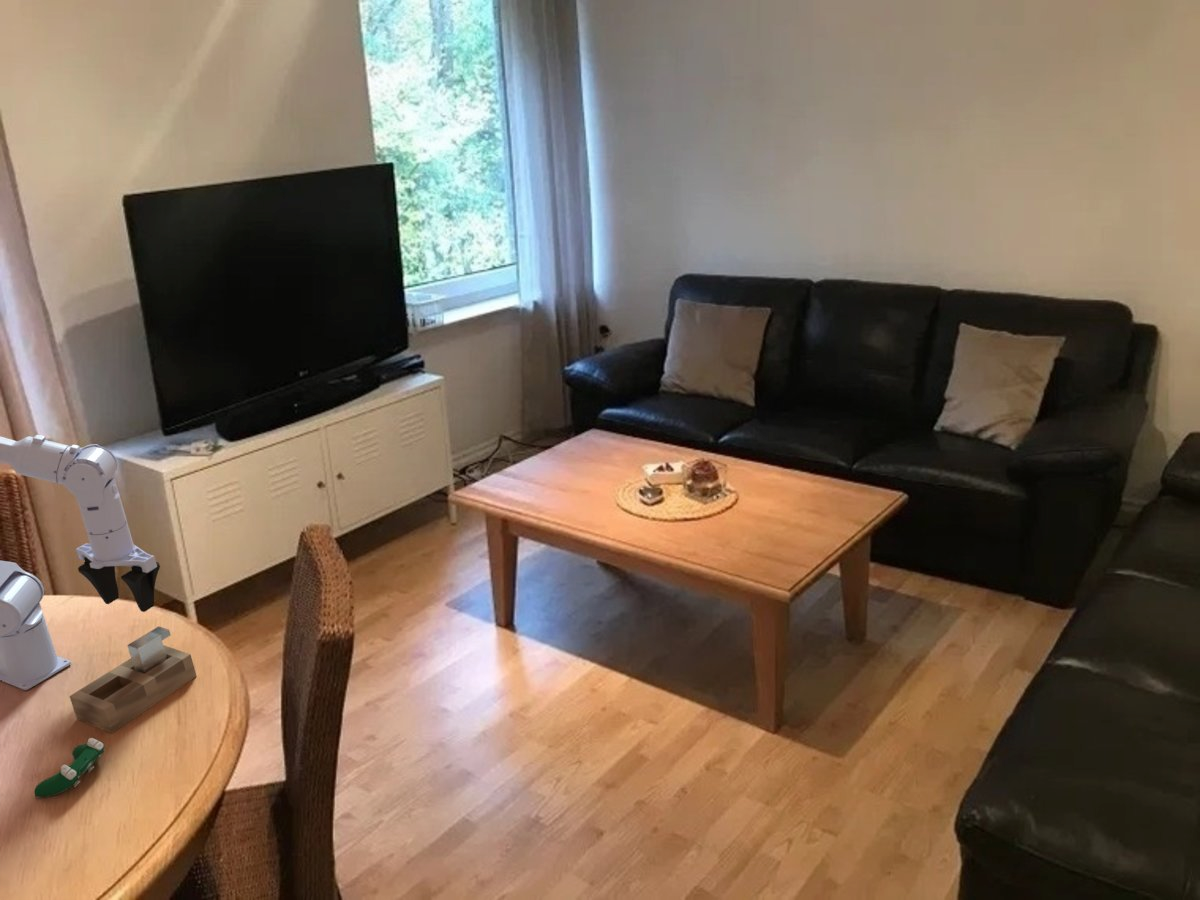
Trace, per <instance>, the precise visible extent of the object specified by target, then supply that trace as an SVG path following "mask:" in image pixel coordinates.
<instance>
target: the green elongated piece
mask: <svg viewBox="0 0 1200 900" xmlns="http://www.w3.org/2000/svg"><path fill="white" fill-rule="evenodd" d="M105 747H106V746H105V745H104V743H103V742H101V741H99V740H97V739H95V738H93V737H89V738H88V740H87V743H82V744H79V745H77V746H76V747H74V749H73V750H72V752H71V754H72V757H73V759H74V761H73V762H72V763H71V764H70V765H67V764H62V765H61V767H60V770H59V772H57V773H56V774H54V775H52V776H50V777H47V778H46V779H44V780H42V781H41V782H39V783H38V784H37V785H36V786H35V788H34V791H33V793H34V797H35V798H48V797H51V796H52V797H53V796H55V795H58V794H60V793H63V792H65V791H66V790H70V788H71V787H73V788H76V787H77V786H78V785H79V784H80V783H81V780H79V779H80V777H82V775H83V774H84V773H90V772H91V771H92V770H93V769H94V768H95V766H94V763H95V762H96V761H97V760H98V759H99V758H100V756H102V754H104V752H105V749H106V748H105Z"/></svg>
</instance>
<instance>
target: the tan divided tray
mask: <svg viewBox="0 0 1200 900" xmlns="http://www.w3.org/2000/svg"><path fill="white" fill-rule="evenodd" d="M163 646H164V650H165V653H166V657H167V660H165V661H164V662H162V663H161V664H159V665H158V666H156V667H154V668H153V669H151V670H150V671H148V672H147V673H145V674H144V673H141V672H138V671H136V670H135V669H134V666H133V663H132V659H131V657H129V659H127V660H126V661H124V662H123V663H121V664H120V665H117V666H116V667H114V668H112V669H111V670H110V671H108V672H106V673H105V674H103V675H101V676H100V677H98V678H97V679H95V680H93V681H91V682H90V683H88V684H86V686H83V687H82V688H80V689H79V690H77V691H76V692H74V693H72V694H70V695H69V699H70V702H71V705H72V708H73V711H74V714H75V717H76V719H77V720H78V721H81V722H83V723H85V724H88V725H89V726H90V725H91V726H93V727H96V728H98V729H100V730H102V731H105V732H108V733H110V734H113V733H114V732H116V731H118V730H119V729H121V728H122V727H124V726H125V725H126V724H128V723H129V722H131V721H132V720H134V719H135V718H137V717H138V716H139V715H141V714H143V713H145V712H146V711H148V710H149V709H151V708H152V707H153V706H155V705H157V704H158V703H159V702H161V701H162V700H164V699H165V698H168V696H170V695H171V694H173V693H174V692H176V691H177V690H179V689H180V688H182V687H183V686H185V685H186V684H188V683H189V682H191V681H192V680H193V679H195V678H196V677H197V673H196V670H195V666H194V665H195V664H194V662H193V659H192V655H191V653H188V652H185V651H181V650H179V649H176V648H172V647H170V646H167V645H164V644H163Z"/></svg>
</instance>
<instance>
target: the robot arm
mask: <svg viewBox="0 0 1200 900" xmlns="http://www.w3.org/2000/svg"><path fill="white" fill-rule="evenodd" d="M0 463H3V464H7V465H8V464H9V465H10V466H11V467H12V469H13V471H14V472H15V473H16V474H18V475H21V476H25V477H29V478H31V479H33V478H34V479H37V480H42V481H46V482H49V483H54V484H59V485H63V486H64V488H65V489H66V490H67V491H68V492H69V493H71V494H72V495H73V496H74V497H75V499H76V500H77V504H78V509H79V511H80V516H81V519H82V521H83V524H84V527H85V528H84V529H85V531H86V535H87V538H88V542H89V543H87V542H86V543H84V544H82V545H81V546H78V547H77V548H76V549H75V552H76V554H77V557H78V560H80V561H84V562H83V564H81V565H80V566H78V568H77V570H78V573H80V575H82V576H84V577H85V578H86V579H87V580H88V581H89V583H91V584H92V586H93V587H94V589H95V590H96V592H97V593H98V594H99V596H100V598H101V599H102V601H103V602H104V604H106V605H110V604H111V603H113V602H115V601H117V600H118V599H120V597H119V596H120V595H119V594H120V593H119V587H118V583H117V582H118V581H117V579H116V567H128V568H129V567H130V568H131V570H129V571H128V572H126V573H124V574H122V575H121V576H120V578H121V580H122V581H123V582H124V583H125V584H126V585H127V587H128V588H129V589H130V592H131V593H132V595H133V596H134V600H135V602H136V606H137V607H138V609H139V611H140V612H143V613H145V612H147V611H148V610H150V609H151V608H153V607H154V606H155V588H156V581H157V577H158V573H159V571H160V568H161V565H160V562H158V561H156V557H155V555H152V554H149V553H147V552H146V551H144V550H143V549H141V548H140V547H138V546H137V545H136V544H134V541H133V538H132V535H131V529H130V526H129V524H128V520H127V515H126V512H125V509H124V505H123V501H122V499H121V495H120V492H119V488H118V485H117V481H116V478H115V477H114V475H115V474H116V471H117V469H118V461H117V458H116V456H115V455H114V453H113V452H112V451H111V450H109V449H108V448H106V447H104V446H101V445H99V444H97V443H95V444H93V443H92V444H86V445H85V446H83V447H81V446H80V445H78V444H72V445H68V444H64V443H60V442H56V441H51V440H47V439H46V436H45V435H41V434H36V435H35V436H29V435H28V436H25V437H24V438H22V439H19V440H14V439H10V438H8V437H4V436H1V435H0ZM44 596H45V588H44V585H43V583H42V582H41V580H40V579H39V578H38V577H36V576H35V575H34V574H32V573H30V572H27V571H26V570H24V569H23V568H21V567H20V566H19V565H18V564H17V562H12V561H7V560H6V561H5V560H0V681H1V680H2V681H1V682H3V683H6V684H9V685H11V686H13V687H16V688H19V689H20V690H23V691H28V690H30V689H32V688H33V687H34V686H37V685H38V684H40V683H41V682H43V681H45V680H47V679H48V678H50V677H52V676H53V675H55V674H57V673H58V672H60V671H62V670H63V669H65V668H66V667H68V666H70V665H71V664H72V661H71V660H69V659H66V658H63V657H62V656H58V655H57V653H56V652H57V651H56V650H55V645H54V644H53V640H52V637H51V633H50V631H49V629H48V625H47V622H46V619H45V615H44V613H43V611H42V609H43V608H42V606H41V601H42V599H43V598H44Z"/></svg>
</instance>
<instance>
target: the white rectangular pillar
mask: <svg viewBox="0 0 1200 900" xmlns="http://www.w3.org/2000/svg"><path fill="white" fill-rule="evenodd" d="M170 636H171V632H170V629H169V628H164V627H163V626H159V625H158V626H157V627H155V628H153V629H152V630H150V631H148V632H147V633H146V634H143V635H142V636H140V637H138V638H137V639H135V640H134V641H132V642H130V643H128V644H127V646H126V647H127V648H128V652H129V655H130V658H131V659H132V663H133V666H134V669H135V670H136V671H138V672H141V673H144V674H145V673H147V672H148V671H150V670H151V669H153V668H154V667H156V666H158V665H159V664H161V663H162V662H164V661H165V660H167V657H166V653H165V650H164V646H165V645H164V643H163V641H164V640H165V639H167V638H169V637H170ZM163 645H164V646H163Z"/></svg>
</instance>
